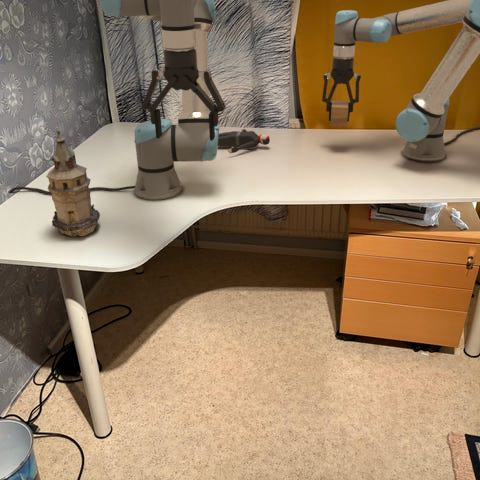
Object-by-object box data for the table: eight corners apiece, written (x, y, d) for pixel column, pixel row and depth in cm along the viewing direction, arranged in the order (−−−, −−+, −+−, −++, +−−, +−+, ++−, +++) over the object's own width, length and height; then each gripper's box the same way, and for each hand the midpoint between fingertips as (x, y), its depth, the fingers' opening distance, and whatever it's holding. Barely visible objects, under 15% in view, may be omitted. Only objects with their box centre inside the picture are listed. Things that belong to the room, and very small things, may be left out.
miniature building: (80, 214, 164) (63, 117, 149) (111, 225, 157) (96, 125, 142) (44, 231, 154) (22, 130, 140) (75, 244, 147) (55, 139, 133)
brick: (346, 126, 200) (348, 107, 197) (330, 125, 201) (331, 106, 198) (346, 119, 208) (348, 101, 204) (330, 119, 209) (331, 100, 205)
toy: (204, 122, 226) (274, 122, 220) (205, 136, 229) (274, 137, 223) (186, 142, 204) (264, 143, 198) (188, 157, 207) (264, 159, 201)
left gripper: (236, 46, 124) (237, 134, 135) (133, 44, 128) (142, 131, 138) (230, 52, 118) (232, 144, 128) (122, 50, 121) (132, 140, 132)
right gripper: (370, 55, 194) (364, 118, 206) (317, 54, 197) (313, 116, 209) (371, 59, 188) (364, 123, 199) (316, 58, 191) (313, 122, 202)
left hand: (185, 137), depth 133 cm, fingers open, 13 cm apart
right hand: (338, 120), depth 204 cm, fingers closed on brick, 6 cm apart
